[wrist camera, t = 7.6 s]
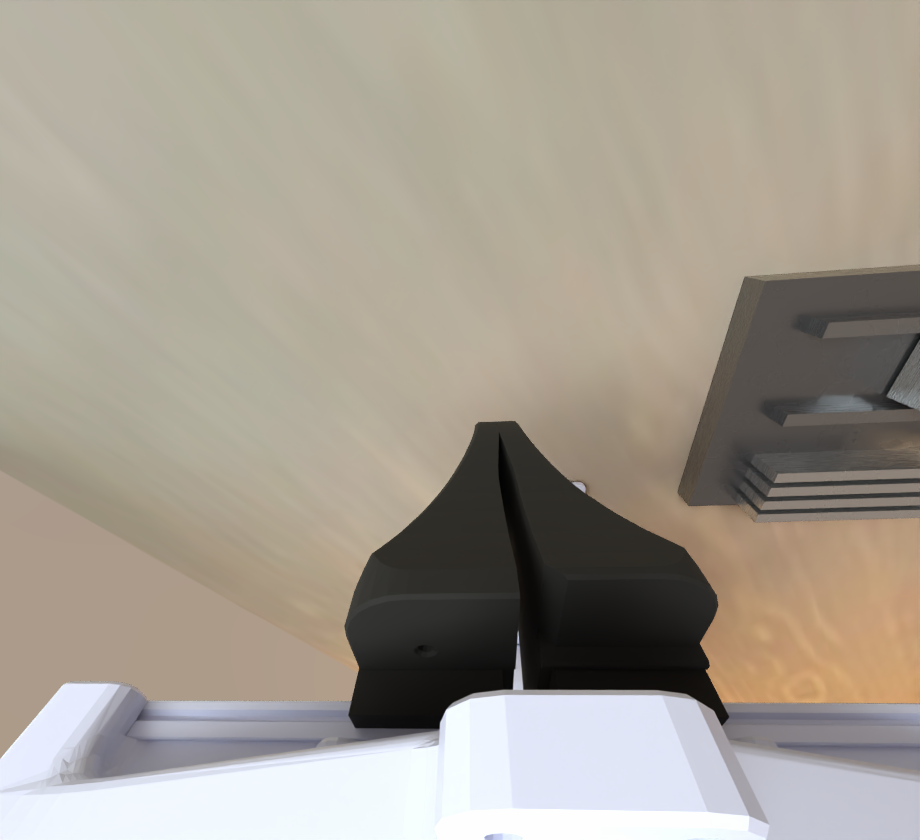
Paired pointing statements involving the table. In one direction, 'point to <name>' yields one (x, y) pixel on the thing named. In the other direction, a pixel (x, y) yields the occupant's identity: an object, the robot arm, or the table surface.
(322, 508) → the table surface
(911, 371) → the bar
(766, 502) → the base
